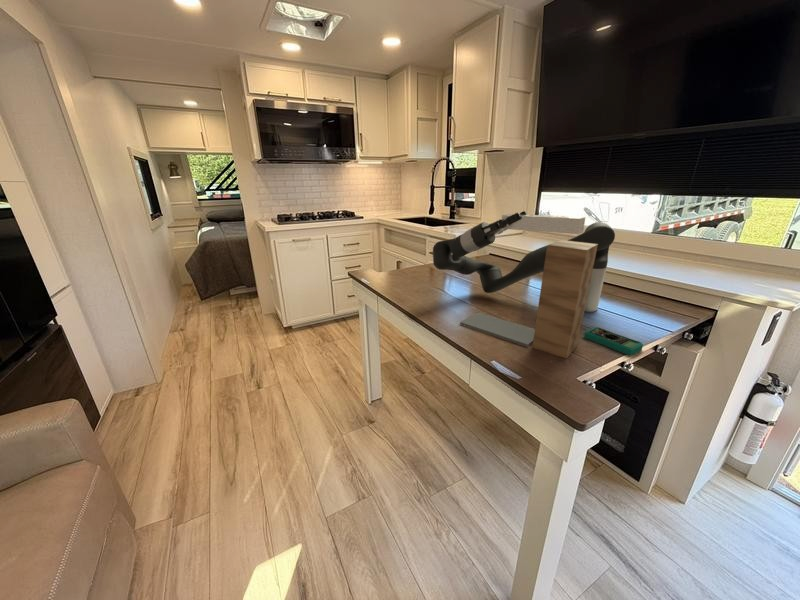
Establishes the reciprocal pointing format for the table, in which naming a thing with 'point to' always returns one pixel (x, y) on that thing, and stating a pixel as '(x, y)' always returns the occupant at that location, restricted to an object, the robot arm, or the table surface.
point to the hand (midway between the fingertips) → (522, 214)
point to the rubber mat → (501, 328)
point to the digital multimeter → (613, 341)
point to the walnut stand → (563, 296)
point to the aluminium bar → (548, 223)
